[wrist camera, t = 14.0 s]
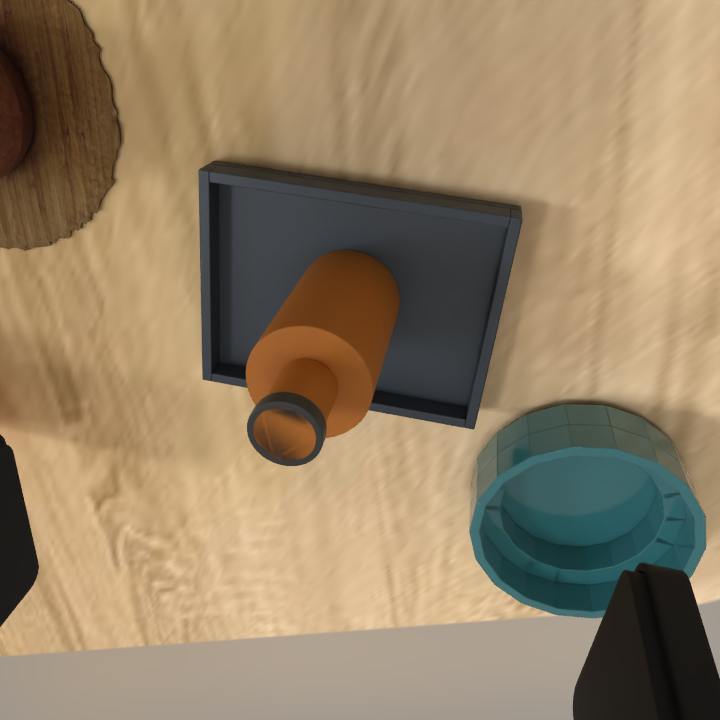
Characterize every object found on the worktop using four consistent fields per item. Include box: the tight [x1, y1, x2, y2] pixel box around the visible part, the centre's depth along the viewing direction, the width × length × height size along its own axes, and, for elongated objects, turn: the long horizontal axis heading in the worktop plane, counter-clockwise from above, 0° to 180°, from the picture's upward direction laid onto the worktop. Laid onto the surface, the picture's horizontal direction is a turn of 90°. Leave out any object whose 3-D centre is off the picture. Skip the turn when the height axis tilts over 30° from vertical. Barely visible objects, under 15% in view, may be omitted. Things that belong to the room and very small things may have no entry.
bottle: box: [246, 250, 400, 466], centre depth 33 cm, size 6×6×14 cm
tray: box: [199, 161, 522, 429], centre depth 39 cm, size 17×13×2 cm
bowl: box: [469, 404, 706, 618], centre depth 41 cm, size 13×13×5 cm
